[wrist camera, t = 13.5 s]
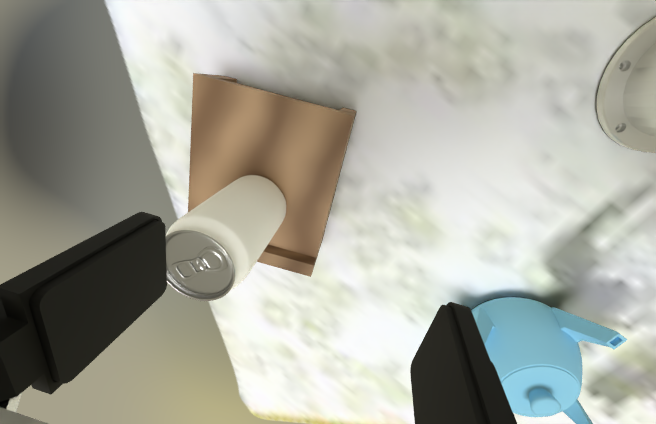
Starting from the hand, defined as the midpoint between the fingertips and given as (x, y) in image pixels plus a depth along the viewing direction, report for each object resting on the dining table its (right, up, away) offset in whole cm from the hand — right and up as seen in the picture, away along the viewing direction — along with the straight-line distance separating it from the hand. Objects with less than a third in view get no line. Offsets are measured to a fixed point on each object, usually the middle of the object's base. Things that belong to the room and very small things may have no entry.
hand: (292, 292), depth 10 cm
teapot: (+26, -13, +31) cm, 42 cm away
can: (-6, +4, +21) cm, 22 cm away
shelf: (-5, +8, +25) cm, 27 cm away
